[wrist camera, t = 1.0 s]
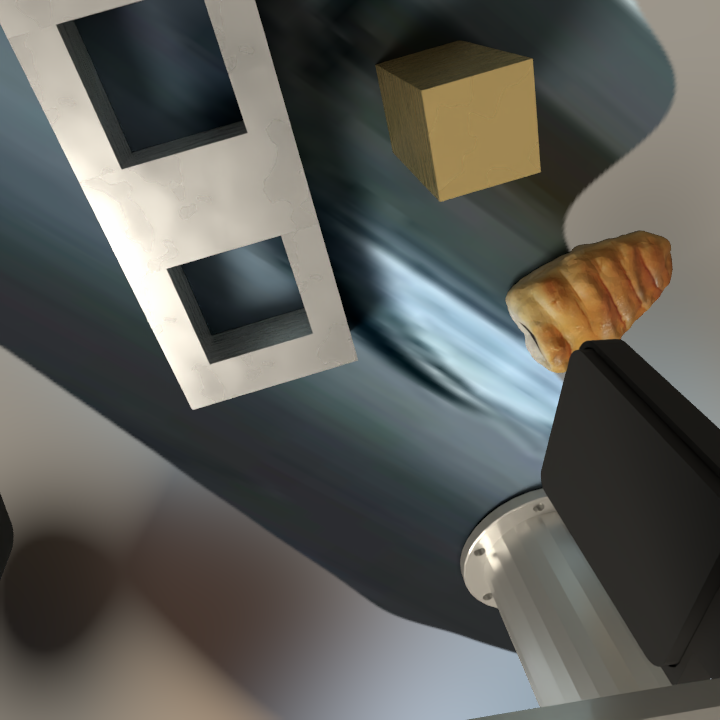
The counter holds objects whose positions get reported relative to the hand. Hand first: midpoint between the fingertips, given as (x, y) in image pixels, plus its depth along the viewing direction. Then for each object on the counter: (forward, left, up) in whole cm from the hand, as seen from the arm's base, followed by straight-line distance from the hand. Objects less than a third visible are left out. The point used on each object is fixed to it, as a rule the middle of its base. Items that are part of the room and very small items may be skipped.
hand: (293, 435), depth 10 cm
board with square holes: (-1, +3, -22) cm, 22 cm away
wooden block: (0, -8, -22) cm, 24 cm away
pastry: (-13, -15, -23) cm, 30 cm away
